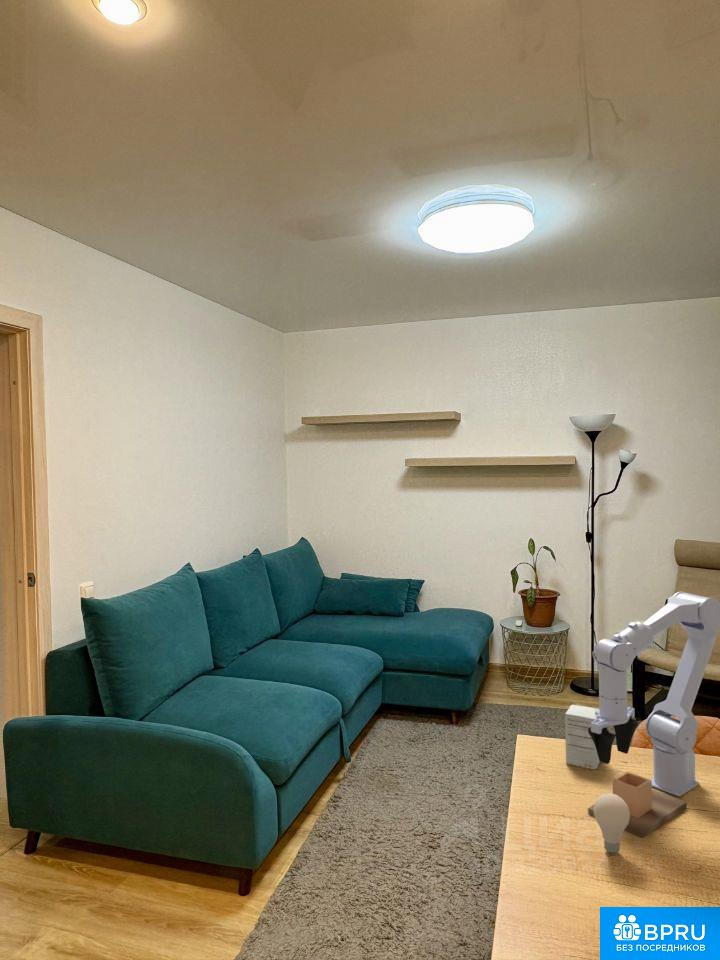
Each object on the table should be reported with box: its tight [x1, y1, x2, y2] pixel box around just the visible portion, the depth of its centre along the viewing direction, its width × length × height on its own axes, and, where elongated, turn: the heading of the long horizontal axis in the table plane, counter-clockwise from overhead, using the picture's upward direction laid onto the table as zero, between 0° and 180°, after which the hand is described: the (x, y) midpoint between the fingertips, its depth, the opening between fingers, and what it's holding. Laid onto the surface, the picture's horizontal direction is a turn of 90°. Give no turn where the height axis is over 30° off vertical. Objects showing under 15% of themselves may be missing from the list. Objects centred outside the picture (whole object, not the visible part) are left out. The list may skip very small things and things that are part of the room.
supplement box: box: [564, 704, 600, 770], centre depth 166 cm, size 7×7×13 cm
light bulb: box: [593, 792, 630, 854], centre depth 127 cm, size 7×7×11 cm
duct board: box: [587, 788, 688, 838], centre depth 142 cm, size 18×12×5 cm, turn 128°
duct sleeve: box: [612, 770, 653, 818], centre depth 141 cm, size 6×6×6 cm
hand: (613, 757), depth 147 cm, fingers open, 7 cm apart
